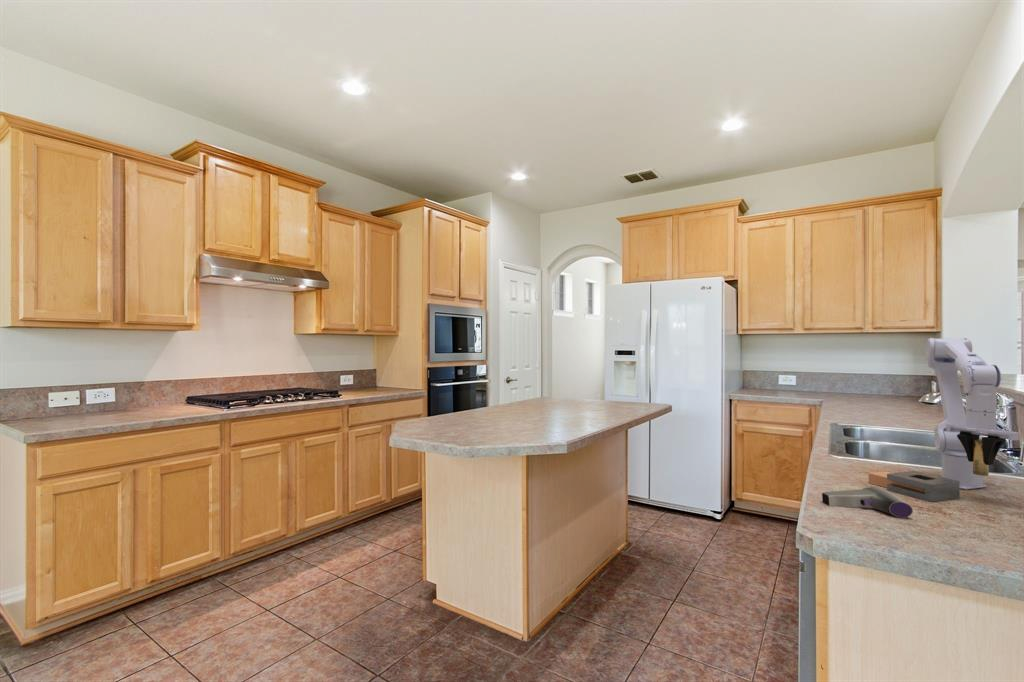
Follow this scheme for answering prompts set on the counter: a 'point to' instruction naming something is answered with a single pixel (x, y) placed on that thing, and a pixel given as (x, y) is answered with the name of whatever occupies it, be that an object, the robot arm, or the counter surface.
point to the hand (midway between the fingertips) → (980, 462)
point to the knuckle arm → (888, 481)
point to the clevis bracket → (925, 486)
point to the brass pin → (979, 458)
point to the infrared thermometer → (869, 500)
